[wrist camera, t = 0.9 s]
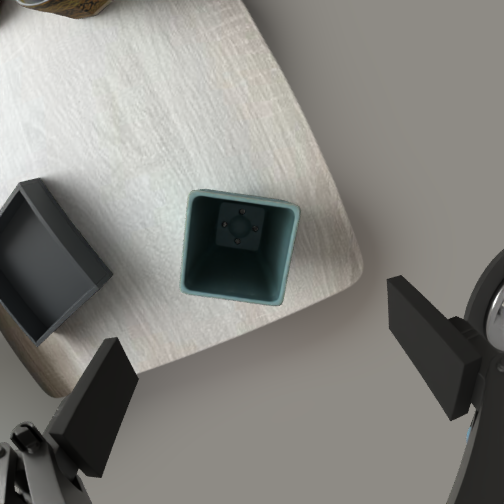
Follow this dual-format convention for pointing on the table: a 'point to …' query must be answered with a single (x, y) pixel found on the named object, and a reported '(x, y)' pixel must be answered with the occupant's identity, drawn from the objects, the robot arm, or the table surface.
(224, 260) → the flower pot
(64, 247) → the tote
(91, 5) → the ceramic cup
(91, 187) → the table surface
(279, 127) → the table surface
